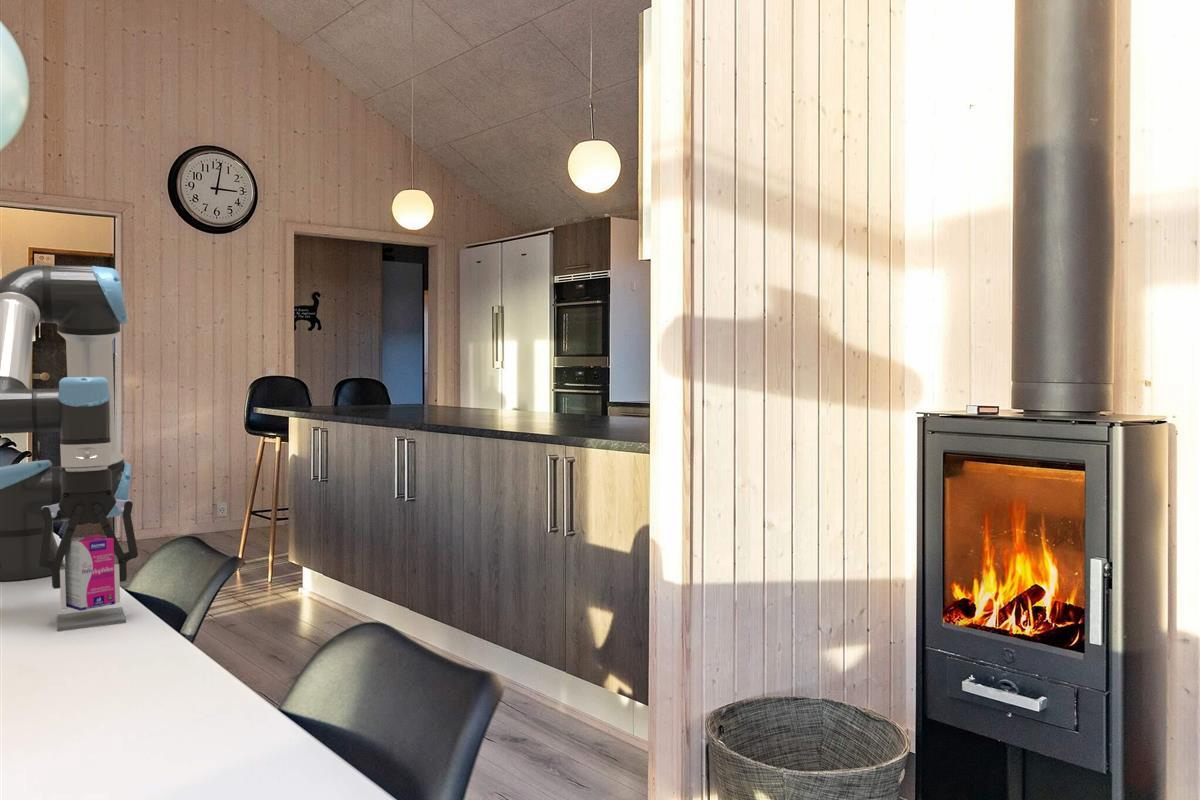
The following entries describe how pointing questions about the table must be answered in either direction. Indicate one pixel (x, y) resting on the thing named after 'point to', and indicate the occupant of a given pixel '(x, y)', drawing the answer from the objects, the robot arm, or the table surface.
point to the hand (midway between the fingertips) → (90, 604)
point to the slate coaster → (90, 618)
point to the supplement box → (90, 572)
